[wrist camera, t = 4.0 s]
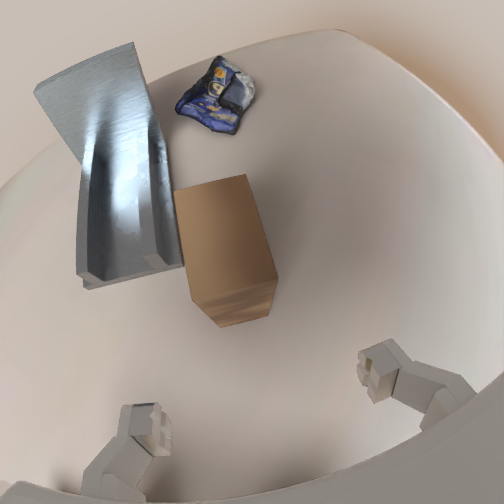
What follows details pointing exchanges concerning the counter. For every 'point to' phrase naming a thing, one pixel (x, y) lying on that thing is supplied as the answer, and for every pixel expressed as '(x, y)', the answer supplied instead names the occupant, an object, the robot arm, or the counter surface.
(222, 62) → the snack package
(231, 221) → the tan wooden block
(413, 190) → the counter surface
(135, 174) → the track
